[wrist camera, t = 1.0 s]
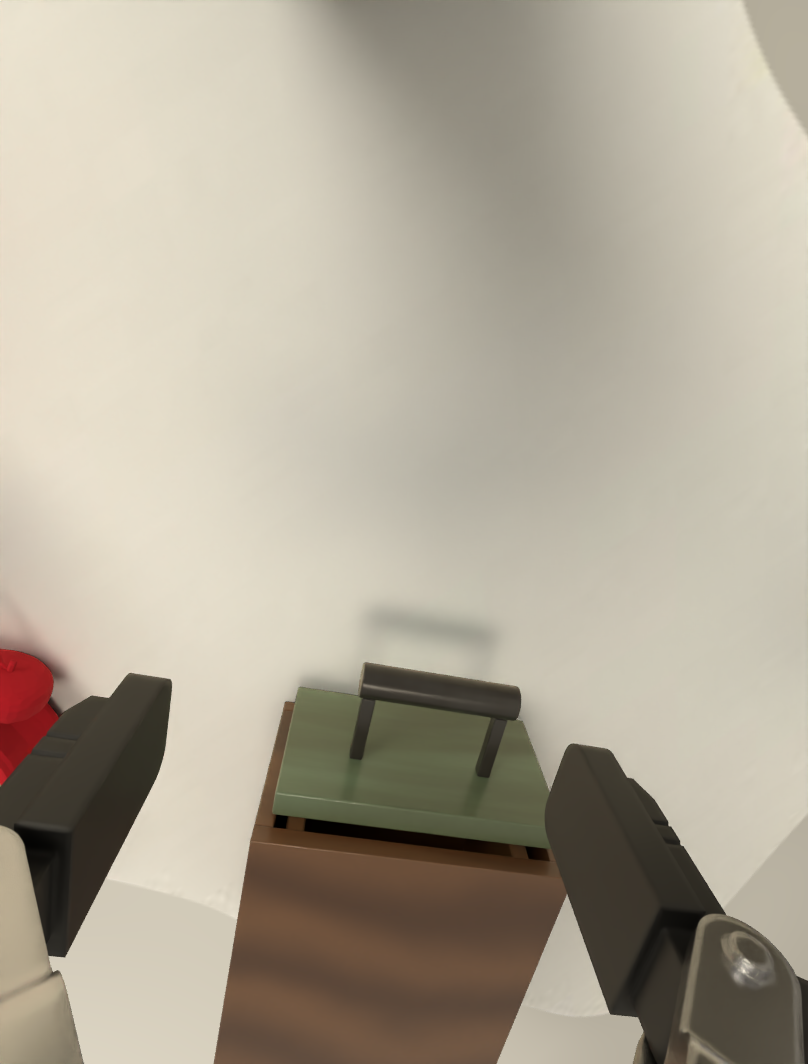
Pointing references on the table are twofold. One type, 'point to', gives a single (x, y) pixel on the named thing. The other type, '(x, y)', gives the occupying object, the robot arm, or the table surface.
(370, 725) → the drawer
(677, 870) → the robot arm
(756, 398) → the table surface
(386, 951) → the cabinet
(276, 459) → the table surface
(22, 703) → the alarm clock
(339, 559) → the table surface
